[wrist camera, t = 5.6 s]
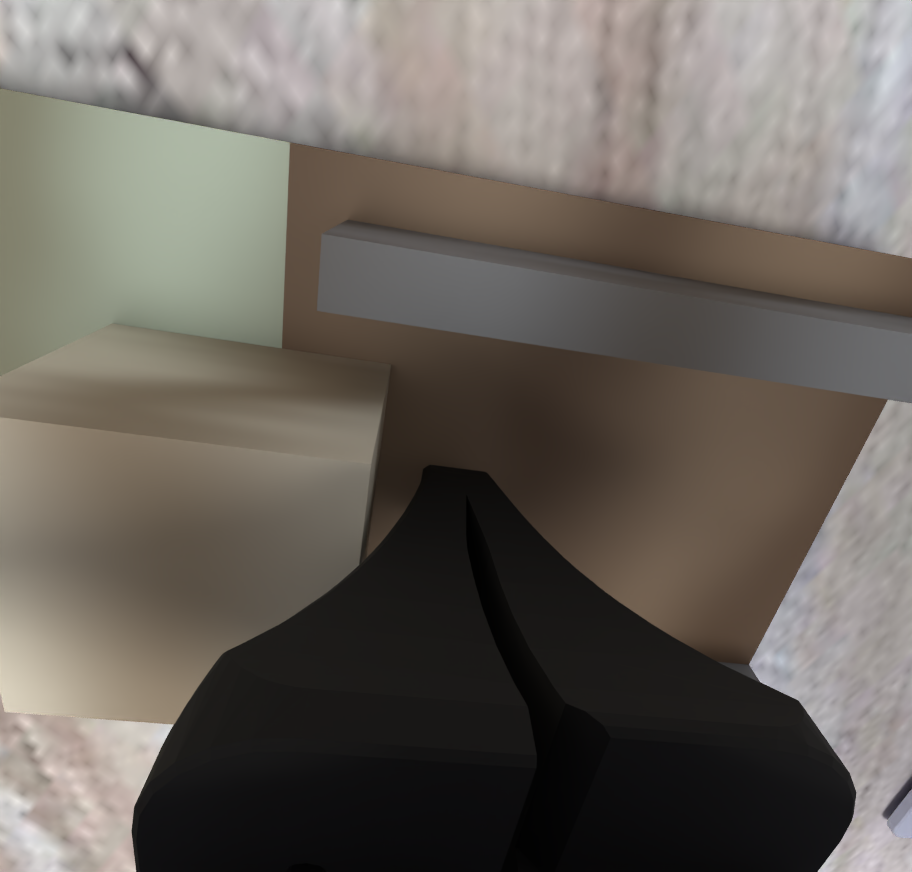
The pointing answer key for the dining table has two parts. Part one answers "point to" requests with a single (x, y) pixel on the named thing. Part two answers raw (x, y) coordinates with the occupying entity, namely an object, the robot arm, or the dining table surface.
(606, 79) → the dining table surface
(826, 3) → the dining table surface
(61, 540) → the birch block
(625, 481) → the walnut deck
